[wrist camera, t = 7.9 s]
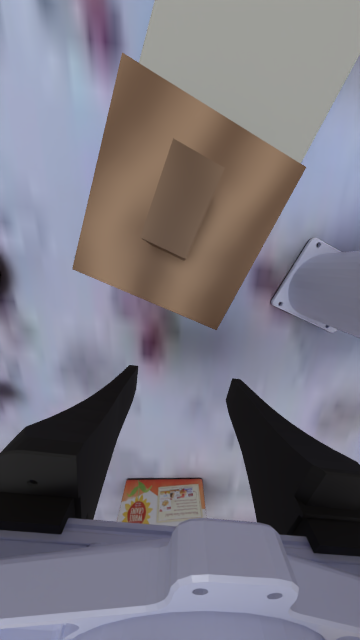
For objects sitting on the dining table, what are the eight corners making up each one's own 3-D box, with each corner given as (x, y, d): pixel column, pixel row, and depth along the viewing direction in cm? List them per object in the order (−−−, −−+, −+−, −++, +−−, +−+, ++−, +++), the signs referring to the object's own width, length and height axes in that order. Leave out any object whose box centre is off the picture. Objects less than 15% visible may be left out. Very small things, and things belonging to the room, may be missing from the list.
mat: (398, -23, 12) (407, -35, 12) (276, 205, 17) (279, 203, 16) (208, -193, 10) (209, -214, 10) (127, 120, 15) (125, 115, 14)
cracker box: (129, 497, 32) (48, 873, 12) (126, 477, 30) (25, 883, 10) (201, 497, 32) (237, 869, 12) (202, 477, 30) (248, 878, 10)
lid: (298, 172, 13) (364, 122, 8) (214, 327, 17) (228, 350, 12) (126, 67, 11) (88, -74, 6) (77, 268, 15) (33, 270, 10)
